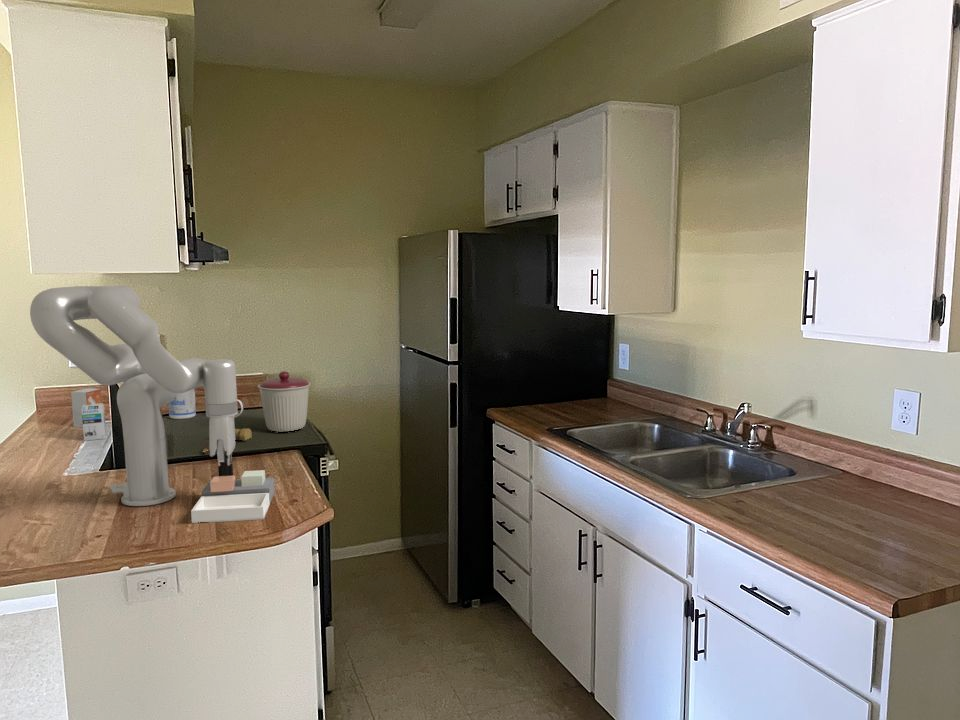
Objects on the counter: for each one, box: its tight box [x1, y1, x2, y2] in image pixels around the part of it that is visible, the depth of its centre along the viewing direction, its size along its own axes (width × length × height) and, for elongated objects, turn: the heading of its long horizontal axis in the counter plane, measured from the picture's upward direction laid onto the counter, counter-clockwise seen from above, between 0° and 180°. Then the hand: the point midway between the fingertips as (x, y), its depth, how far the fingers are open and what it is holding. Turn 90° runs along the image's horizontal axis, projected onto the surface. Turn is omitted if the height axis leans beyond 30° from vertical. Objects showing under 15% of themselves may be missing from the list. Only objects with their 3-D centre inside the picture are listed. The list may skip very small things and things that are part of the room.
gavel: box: [201, 427, 253, 453], centre depth 234 cm, size 21×5×10 cm
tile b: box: [240, 469, 266, 487], centre depth 182 cm, size 5×5×2 cm
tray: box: [190, 493, 271, 524], centre depth 172 cm, size 16×10×3 cm, turn 99°
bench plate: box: [201, 476, 276, 504], centre depth 182 cm, size 16×9×4 cm, turn 99°
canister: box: [257, 370, 311, 433], centre depth 255 cm, size 18×18×21 cm
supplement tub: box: [168, 388, 197, 420], centre depth 277 cm, size 10×10×15 cm
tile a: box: [210, 474, 236, 492], centre depth 177 cm, size 5×5×2 cm
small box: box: [70, 387, 103, 428], centre depth 265 cm, size 8×6×13 cm
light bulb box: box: [81, 402, 107, 442], centre depth 247 cm, size 11×7×11 cm, turn 26°
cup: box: [234, 399, 244, 419], centre depth 277 cm, size 7×10×8 cm
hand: (226, 479), depth 182 cm, fingers closed
